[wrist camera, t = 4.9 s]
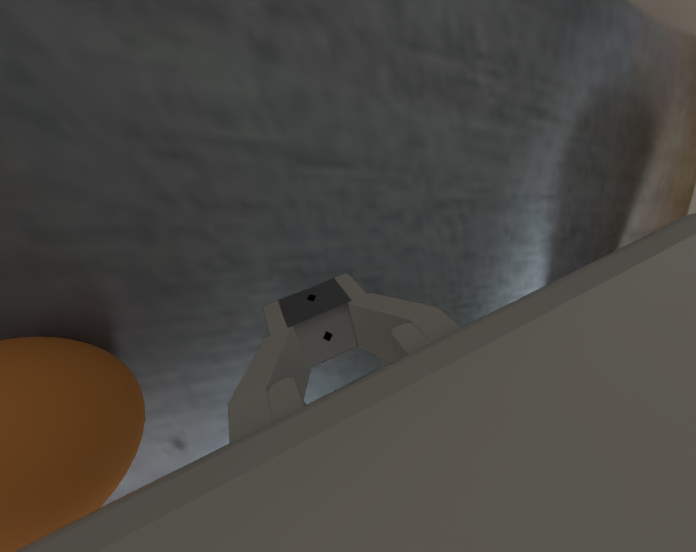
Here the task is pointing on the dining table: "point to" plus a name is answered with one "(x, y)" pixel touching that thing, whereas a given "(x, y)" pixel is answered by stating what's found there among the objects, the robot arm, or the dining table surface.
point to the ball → (61, 433)
